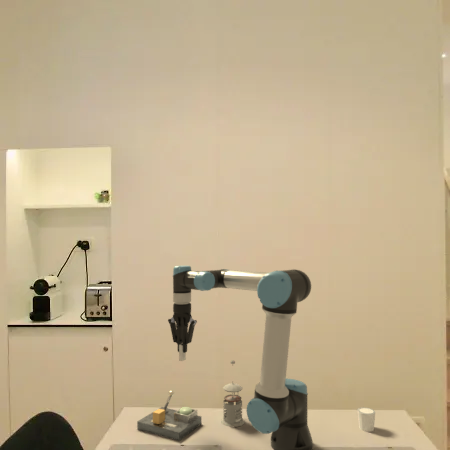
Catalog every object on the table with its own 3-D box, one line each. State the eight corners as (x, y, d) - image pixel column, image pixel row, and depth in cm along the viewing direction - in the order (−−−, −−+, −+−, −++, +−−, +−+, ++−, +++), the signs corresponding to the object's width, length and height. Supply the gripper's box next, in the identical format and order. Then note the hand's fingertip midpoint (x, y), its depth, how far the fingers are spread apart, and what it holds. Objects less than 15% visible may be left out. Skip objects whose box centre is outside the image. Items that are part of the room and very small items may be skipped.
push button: (194, 415, 164) (194, 408, 164) (187, 420, 160) (187, 413, 160) (184, 413, 166) (184, 406, 167) (177, 418, 162) (177, 410, 162)
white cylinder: (355, 430, 159) (355, 412, 159) (358, 423, 165) (358, 405, 165) (374, 433, 156) (374, 415, 156) (376, 426, 162) (376, 409, 162)
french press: (218, 425, 163) (218, 362, 164) (225, 413, 174) (225, 355, 175) (242, 428, 160) (242, 364, 162) (247, 415, 172) (247, 356, 173)
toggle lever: (168, 411, 169) (176, 392, 167) (164, 413, 167) (172, 393, 165) (163, 407, 170) (171, 388, 168) (160, 409, 168) (168, 390, 166)
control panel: (201, 423, 164) (201, 410, 164) (178, 440, 150) (179, 425, 150) (161, 413, 173) (162, 401, 174) (137, 429, 159) (137, 414, 160)
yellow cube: (165, 420, 160) (165, 410, 160) (158, 424, 156) (159, 413, 157) (159, 418, 161) (159, 408, 161) (152, 422, 158) (152, 412, 158)
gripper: (200, 302, 168) (200, 359, 167) (174, 300, 174) (174, 356, 173) (191, 304, 162) (191, 364, 160) (164, 303, 167) (164, 360, 166)
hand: (182, 360), depth 167 cm, fingers closed
